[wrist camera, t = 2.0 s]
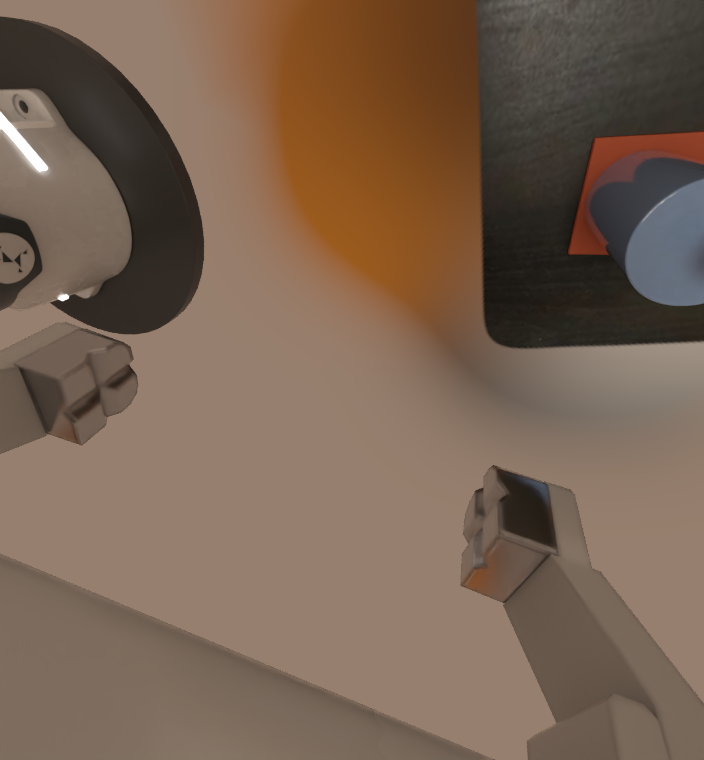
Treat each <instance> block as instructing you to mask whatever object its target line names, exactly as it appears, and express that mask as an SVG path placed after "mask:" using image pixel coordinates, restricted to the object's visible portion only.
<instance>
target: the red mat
mask: <svg viewBox="0 0 704 760" xmlns="http://www.w3.org/2000/svg"><path fill="white" fill-rule="evenodd" d="M650 149H652V150H664V151H667V152H671V153H674V154H678V155H682V156H685V157H689V158H692V159H696V160H699V161H703V162H704V131H701V132H684V133H667V134H649V135H632V136H614V137H597V138H594V140H593V144H592V149H591V153H590V157H589V162H588V166H587V170H586V175H585V179H584V183H583V188H582V192H581V196H580V201H579V205H578V209H577V214H576V218H575V222H574V227H573V231H572V235H571V240H570V244H569V248H568V254H592V255H609V254H608V253H607V251H606V250H605V249H604V247H603V246H602V245H601V243H600V242H599V241H598V240H597V238H596V237H595V236H594V234H593V233H592V232H591V230H590V229H589V227H588V225H587V222H586V218H585V205H586V200H587V197H588V194H589V192H590V189H591V188H592V186H593V184H594V183H595V181H596V180H597V178H598V177H599V176H600V175H601V174H602V173H603V172H604V171H605V170H606V169H607V168H608V167H609V166H610V165H612V164H613V163H614V162H616V161H618V160H619V159H621V158H623V157H625V156H627V155H629V154H632V153H635V152H638V151H642V150H650Z"/></svg>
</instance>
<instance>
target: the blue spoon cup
mask: <svg viewBox="0 0 704 760" xmlns="http://www.w3.org/2000/svg"><path fill="white" fill-rule="evenodd" d="M585 218H586V222H587V225H588V227H589V229H590V230H591V232H592V233H593V234H594V236H595V237H596V238H597V240H598V241H599V242H600V243H601V245H602V246H603V247H604V249H605V250H606V251H607V253H608V254H609V255H610V257H611V258H612V259H613V261H614V262H615V263H616V265H617V266H618V267H619V269H620V270H621V271H622V273H623V274H624V275H625V277H626V278H627V279H628V281H629V282H630V283H631V285H632V286H633V287H634V288H635V289H636V290H637V291H638V292H639V293H640V294H641V295H643V296H644V297H646V298H648V299H650V300H652V301H654V302H657V303H661V304H665V305H673V306H689V305H697V304H702V303H704V162H703V161H699V160H696V159H692V158H689V157H685V156H682V155H678V154H674V153H671V152H667V151H664V150H652V149H650V150H642V151H638V152H635V153H632V154H629V155H627V156H625V157H623V158H621V159H619V160H618V161H616V162H614V163H613V164H612V165H610V166H609V167H608V168H607V169H606V170H605V171H604V172H603V173H602V174H601V175H600V176H599V177H598V178H597V180H596V181H595V183H594V184H593V186H592V188H591V189H590V192H589V194H588V197H587V200H586V205H585Z"/></svg>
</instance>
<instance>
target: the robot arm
mask: <svg viewBox="0 0 704 760" xmlns="http://www.w3.org/2000/svg"><path fill="white" fill-rule="evenodd" d="M131 249H132V232H131V225H130V220H129V216H128V213H127V210H126V207H125V204H124V201H123V199H122V197H121V195H120V192H119V190H118V188H117V186H116V185H115V183H114V181H113V179H112V178H111V176H110V175H109V173H108V172H107V170H106V169H105V167H104V166H103V165H102V163H101V162H100V161H99V159H98V158H97V157H96V156H95V155H94V154H93V153H92V151H91V150H90V149H89V148H88V147H87V146H86V145H85V144H84V143H83V142H82V141H81V140H80V139H79V138H77V137H76V135H75V134H74V133H73V132H72V131H71V130H70V129H69V127H68V126H67V124H66V123H65V121H64V119H63V118H62V116H61V114H60V113H59V111H58V110H57V108H56V107H55V105H54V104H53V102H52V101H51V100H50V98H49V97H48V96H47V95H46V94H45V93H44V92H43V91H41V90H40V89H36V88H26V89H0V311H1V310H3V309H5V308H7V307H9V308H13V309H15V310H17V311H25V310H29V309H32V308H35V307H38V306H40V305H44V304H46V303H50V302H53V301H56V300H58V299H59V300H61V301H64V300H66V299H68V298H69V297H68V296H70V295H73V294H76V295H77V296H79V297H82V298H90V297H93V296H95V295H97V293H98V292H99V290H100V288H101V286H102V284H103V282H105V281H106V280H108V279H110V278H112V277H114V276H116V275H118V274H119V273H120V272H121V271H122V270H123V269H124V268H125V266H126V265H127V263H128V261H129V258H130V254H131ZM132 360H133V355H132V351H131V347H130V346H128V345H127V344H125V343H124V342H121V341H118V340H115V339H113V338H110V337H107V336H104V335H101V334H98V333H96V332H93V331H90V330H88V329H83V328H80V327H77V326H75V325H72V324H69V323H67V322H65V323H55V324H53V325H51V326H49V327H47V328H45V329H43V330H41V331H39V332H37V333H35V334H33V335H31V336H29V337H27V338H25V339H23V340H21V341H19V342H17V343H15V344H13V345H11V346H9V347H7V348H5V349H3V350H1V351H0V454H1V453H4V452H7V451H9V450H12V449H14V448H17V447H19V446H22V445H24V444H27V443H29V442H32V441H34V440H37V439H40V438H42V437H44V436H46V433H47V434H50V435H53V436H56V437H59V438H62V439H65V440H67V441H70V442H73V443H76V444H79V445H83V444H84V443H86V442H87V441H88V440H89V439H90V438H91V437H93V436H94V435H95V434H96V433H97V432H99V431H100V430H101V429H102V428H103V427H105V425H106V422H107V417H108V416H112V415H115V414H118V413H121V412H122V411H123V410H125V408H127V407H128V406H129V405H130V404H131V402H132V401H133V399H134V397H135V395H136V394H137V387H138V380H137V375H136V374H135V372H134V371H133V369H132V368H131V367H130V365H129V364H130V363H131V362H132ZM463 535H464V536H465V538H466V540H467V542H468V546H467V547H466V549H465V550H464V552H463V553H462V565H461V586H462V587H465V588H468V589H470V590H472V591H475V592H477V593H480V594H482V595H485V596H488V597H490V598H493V599H495V600H497V601H500V602H502V603H505V604H504V605H503V606H504V608H505V610H506V612H507V615H508V617H509V619H510V621H511V624H512V626H513V627H514V630H515V632H516V635H517V637H518V639H519V641H520V643H521V646H522V648H523V650H524V652H525V654H526V657H527V659H528V661H529V663H530V665H531V667H532V670H533V672H534V674H535V676H536V678H537V681H538V683H539V685H540V687H541V690H542V692H543V694H544V696H545V698H546V701H547V703H548V705H549V707H550V710H551V712H552V714H553V716H554V718H555V721H556V723H557V724H555V725H553V726H551V727H549V728H547V729H545V730H543V731H541V732H539V733H538V734H536V735H534V736H533V737H531V738H530V739H529V740H528V741H527V752H528V760H704V703H703V702H702V701H701V699H700V698H699V697H698V695H697V694H696V693H695V692H694V691H693V689H692V688H691V687H690V685H689V684H688V683H687V681H686V680H685V679H684V678H683V677H682V675H681V674H680V673H679V671H678V670H677V669H676V667H675V666H674V665H673V664H672V662H671V661H670V660H669V658H668V657H667V656H666V655H665V653H664V652H663V651H662V649H661V648H660V647H659V646H658V645H657V643H656V642H655V641H654V639H653V638H652V637H651V635H650V634H649V633H648V632H647V630H646V629H645V628H644V626H643V625H642V624H641V623H640V621H639V620H638V619H637V618H636V616H635V615H634V614H633V612H632V611H631V610H630V609H629V608H628V606H627V605H626V604H625V602H624V601H623V600H622V598H621V597H620V596H619V595H618V594H617V592H616V591H615V589H614V588H613V587H612V586H611V584H610V583H609V582H608V581H607V579H606V578H605V577H604V576H603V574H602V573H601V572H600V571H597V570H595V569H592V567H591V562H590V559H589V554H588V550H587V545H586V541H585V537H584V533H583V528H582V524H581V519H580V515H579V511H578V507H577V503H576V498H575V494H574V493H573V492H572V491H571V490H570V489H567V488H564V487H561V486H557V485H554V484H551V483H547V482H543V481H541V480H538V479H535V478H531V477H528V476H525V475H522V474H519V473H516V472H513V471H509V470H507V469H504V468H501V467H497V466H494V465H493V466H492V467H490V468H489V469H488V471H487V472H486V474H485V476H484V485H483V488H481V489H479V490H476V491H475V493H474V494H473V496H472V498H471V500H470V502H469V505H468V508H467V511H466V514H465V520H464V530H463ZM0 760H494V759H492V758H489V757H487V756H485V755H482V754H480V753H477V752H475V751H472V750H470V749H468V748H465V747H463V746H461V745H458V744H456V743H453V742H451V741H449V740H446V739H444V738H441V737H439V736H436V735H434V734H432V733H429V732H427V731H424V730H422V729H420V728H417V727H415V726H413V725H410V724H408V723H405V722H403V721H401V720H398V719H396V718H393V717H391V716H389V715H386V714H384V713H381V712H379V711H377V710H374V709H372V708H369V707H367V706H365V705H362V704H360V703H357V702H355V701H353V700H350V699H348V698H345V697H343V696H341V695H338V694H336V693H333V692H331V691H328V690H326V689H324V688H321V687H319V686H317V685H314V684H312V683H310V682H307V681H305V680H302V679H300V678H297V677H295V676H293V675H290V674H288V673H285V672H283V671H281V670H278V669H276V668H274V667H271V666H269V665H266V664H264V663H261V662H259V661H257V660H254V659H252V658H250V657H247V656H245V655H242V654H240V653H237V652H235V651H233V650H230V649H228V648H226V647H223V646H221V645H218V644H216V643H214V642H211V641H209V640H206V639H204V638H202V637H199V636H197V635H194V634H192V633H190V632H187V631H185V630H182V629H180V628H177V627H175V626H173V625H170V624H168V623H166V622H163V621H160V620H158V619H156V618H153V617H151V616H149V615H146V614H144V613H142V612H139V611H137V610H134V609H132V608H130V607H127V606H125V605H122V604H120V603H118V602H115V601H113V600H110V599H108V598H105V597H103V596H101V595H98V594H96V593H93V592H91V591H89V590H86V589H84V588H81V587H79V586H77V585H74V584H72V583H70V582H67V581H65V580H62V579H60V578H57V577H55V576H53V575H51V574H48V573H46V572H43V571H41V570H39V569H36V568H34V567H31V566H28V565H27V564H24V563H21V562H19V561H17V560H15V559H12V558H10V557H7V556H5V555H3V554H0Z"/></svg>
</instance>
